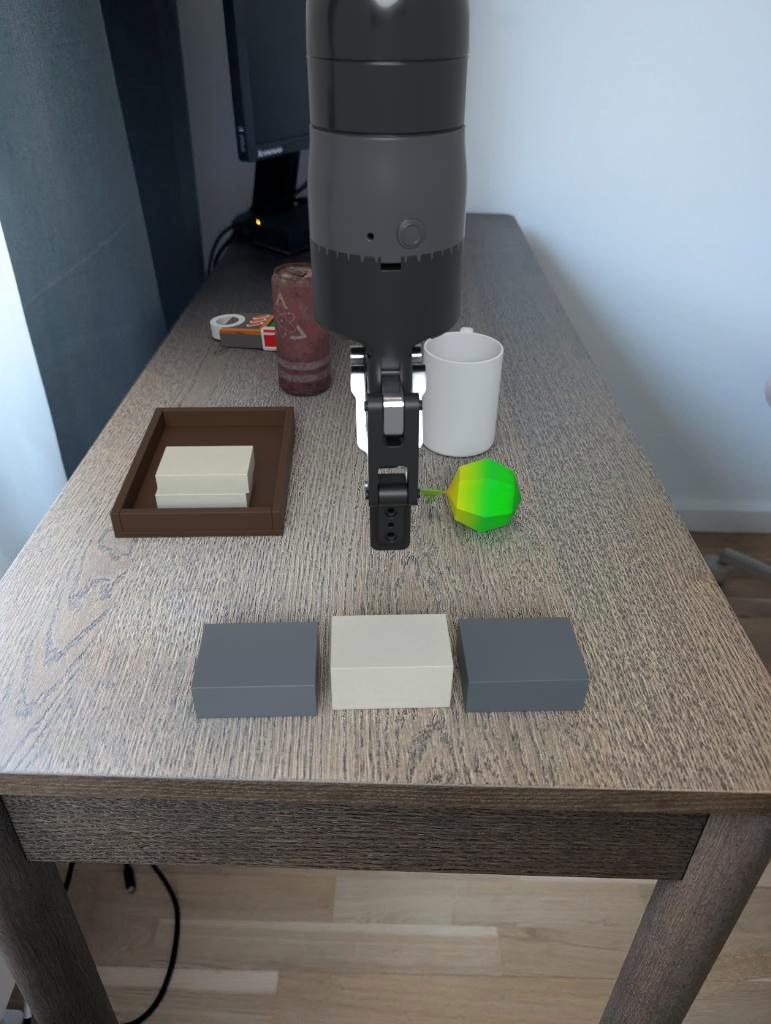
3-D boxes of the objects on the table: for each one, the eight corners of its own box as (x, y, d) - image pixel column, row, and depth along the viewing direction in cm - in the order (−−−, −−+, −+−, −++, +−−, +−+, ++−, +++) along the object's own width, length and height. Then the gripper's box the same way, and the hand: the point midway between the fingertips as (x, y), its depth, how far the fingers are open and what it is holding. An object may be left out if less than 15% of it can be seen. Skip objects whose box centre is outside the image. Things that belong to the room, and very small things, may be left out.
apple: (528, 451, 66) (423, 445, 66) (526, 524, 64) (418, 517, 65) (517, 475, 73) (421, 470, 73) (515, 541, 71) (417, 535, 72)
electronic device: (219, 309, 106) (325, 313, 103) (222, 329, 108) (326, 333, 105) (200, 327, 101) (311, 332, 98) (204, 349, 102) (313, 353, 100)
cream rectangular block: (332, 710, 52) (330, 668, 50) (333, 656, 56) (331, 615, 54) (450, 707, 52) (453, 666, 50) (442, 653, 57) (445, 613, 54)
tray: (115, 538, 68) (109, 513, 66) (159, 428, 84) (156, 407, 82) (282, 535, 68) (280, 511, 67) (295, 427, 84) (294, 406, 83)
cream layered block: (158, 513, 70) (151, 476, 67) (169, 482, 74) (162, 446, 71) (251, 512, 70) (247, 474, 68) (256, 481, 74) (253, 445, 72)
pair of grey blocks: (196, 718, 51) (190, 688, 50) (209, 653, 56) (204, 623, 55) (582, 710, 52) (590, 679, 51) (562, 646, 57) (568, 616, 56)
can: (331, 397, 90) (327, 278, 82) (276, 397, 90) (267, 277, 82) (333, 375, 95) (330, 260, 87) (281, 374, 95) (273, 260, 87)
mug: (493, 461, 79) (503, 365, 73) (416, 455, 80) (419, 360, 74) (495, 406, 89) (505, 318, 83) (427, 401, 89) (431, 314, 83)
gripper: (313, 192, 43) (326, 445, 52) (302, 275, 31) (321, 582, 41) (448, 191, 43) (436, 443, 53) (486, 273, 32) (463, 578, 41)
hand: (386, 503), depth 47 cm, fingers open, 8 cm apart
